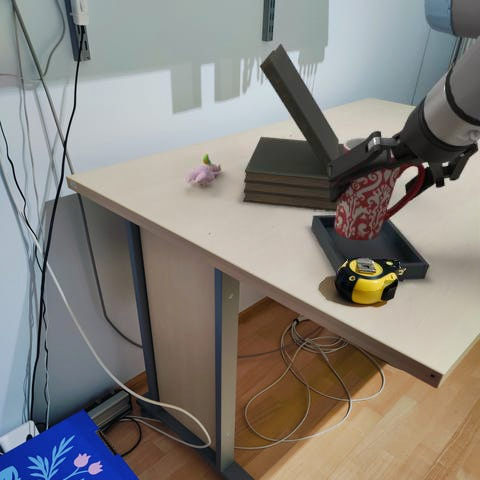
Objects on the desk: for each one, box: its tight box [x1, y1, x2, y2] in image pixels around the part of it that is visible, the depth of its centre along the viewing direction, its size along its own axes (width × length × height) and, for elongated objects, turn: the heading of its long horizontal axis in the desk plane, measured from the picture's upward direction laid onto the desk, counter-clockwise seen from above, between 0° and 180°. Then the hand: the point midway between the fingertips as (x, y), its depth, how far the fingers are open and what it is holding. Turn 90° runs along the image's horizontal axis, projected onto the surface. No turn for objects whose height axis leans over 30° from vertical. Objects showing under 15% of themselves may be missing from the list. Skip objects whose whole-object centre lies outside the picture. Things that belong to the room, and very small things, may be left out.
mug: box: [335, 136, 426, 241], centre depth 65 cm, size 13×9×14 cm
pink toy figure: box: [185, 153, 223, 186], centre depth 91 cm, size 6×6×15 cm
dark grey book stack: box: [243, 43, 344, 212], centre depth 85 cm, size 23×20×25 cm
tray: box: [310, 214, 431, 281], centre depth 71 cm, size 14×18×3 cm
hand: (370, 193), depth 68 cm, fingers closed on mug, 12 cm apart
